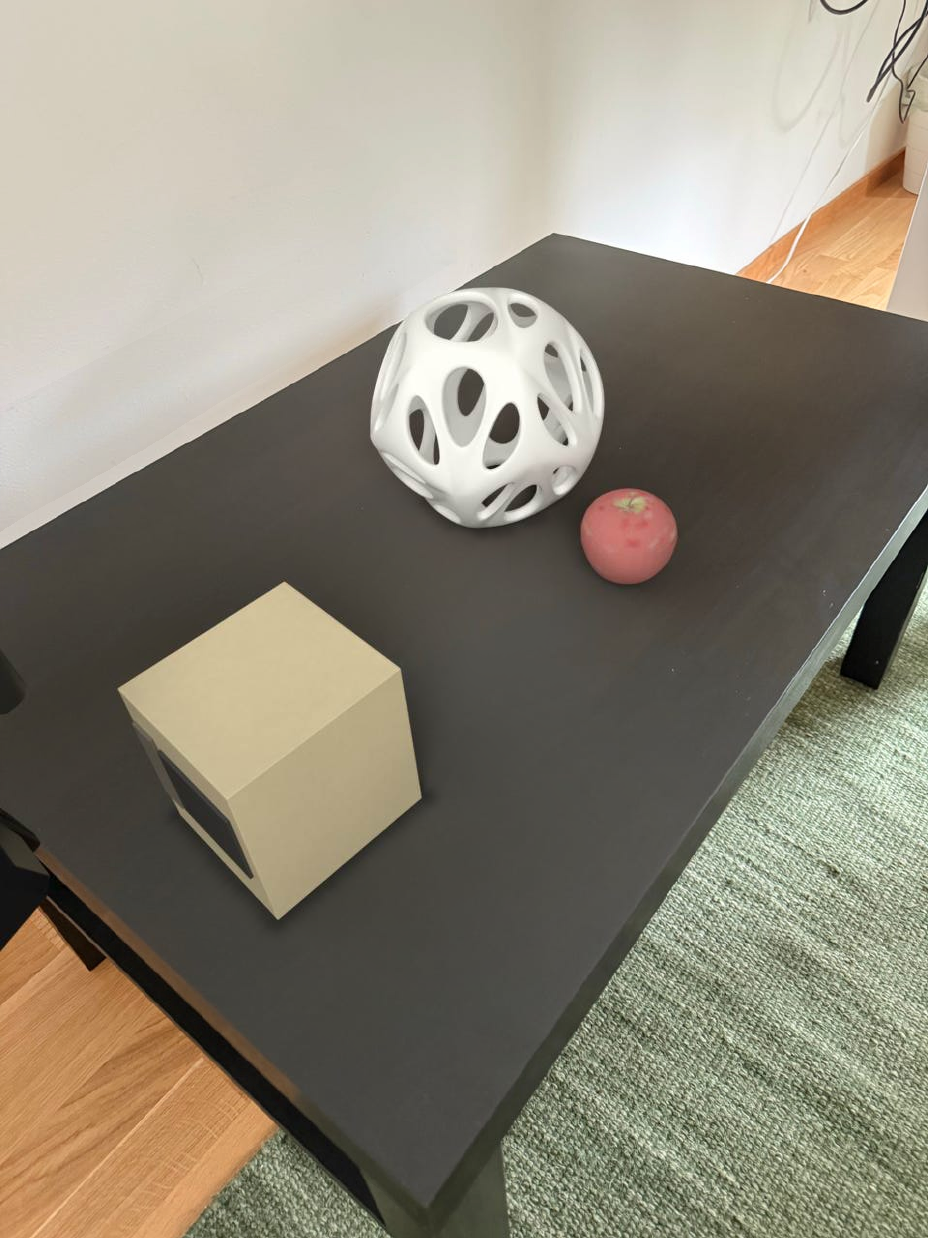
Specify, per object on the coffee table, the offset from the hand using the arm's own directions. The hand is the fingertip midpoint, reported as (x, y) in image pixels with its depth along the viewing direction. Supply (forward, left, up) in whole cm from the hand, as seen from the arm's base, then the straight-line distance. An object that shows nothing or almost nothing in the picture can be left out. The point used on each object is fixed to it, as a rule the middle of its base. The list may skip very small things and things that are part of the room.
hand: (31, 846), depth 46 cm
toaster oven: (+13, +5, -12) cm, 19 cm away
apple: (+44, +15, -13) cm, 48 cm away
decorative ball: (+39, +30, -13) cm, 51 cm away
